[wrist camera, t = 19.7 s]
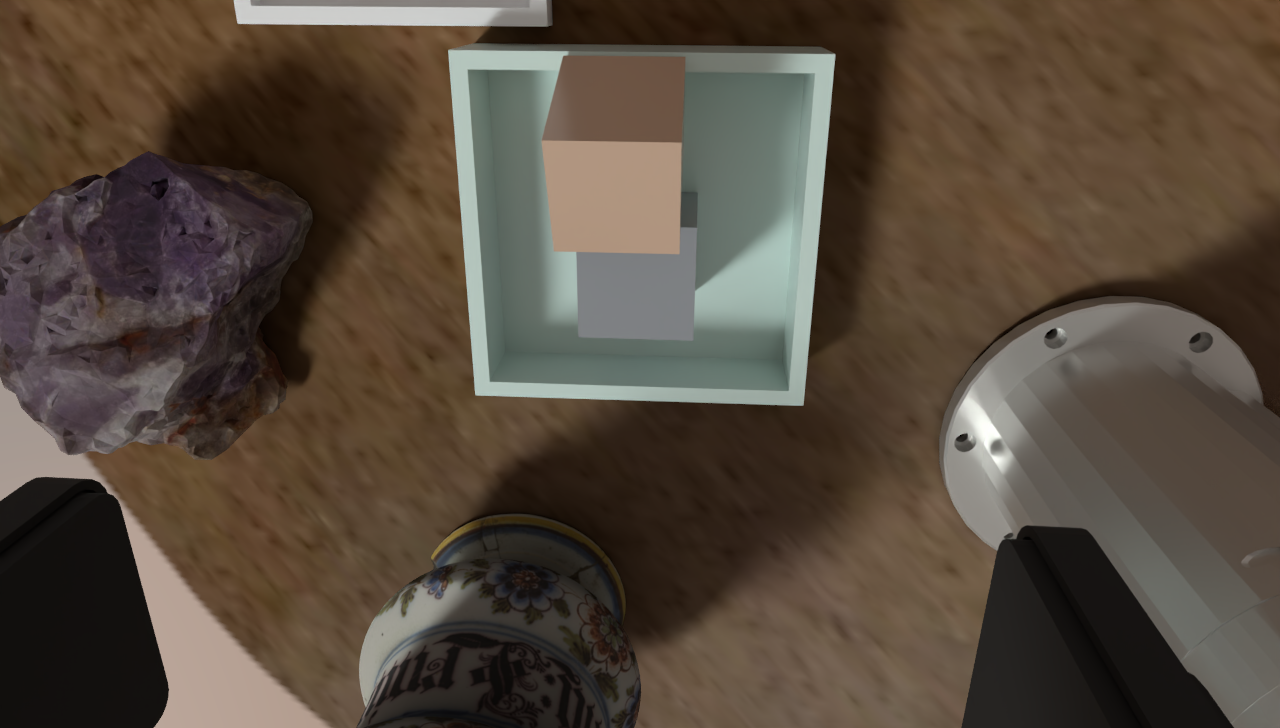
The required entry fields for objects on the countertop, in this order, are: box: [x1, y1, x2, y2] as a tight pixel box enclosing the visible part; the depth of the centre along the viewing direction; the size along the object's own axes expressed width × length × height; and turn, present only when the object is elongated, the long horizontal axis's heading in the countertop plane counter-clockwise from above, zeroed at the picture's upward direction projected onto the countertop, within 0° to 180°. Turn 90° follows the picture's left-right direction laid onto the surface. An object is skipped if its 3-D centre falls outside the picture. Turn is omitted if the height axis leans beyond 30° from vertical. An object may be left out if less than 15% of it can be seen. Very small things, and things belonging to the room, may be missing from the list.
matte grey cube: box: [576, 192, 698, 341], centre depth 32 cm, size 4×4×5 cm
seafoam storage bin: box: [448, 43, 835, 406], centre depth 33 cm, size 13×13×4 cm
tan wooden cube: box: [541, 56, 686, 254], centre depth 28 cm, size 4×4×5 cm
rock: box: [0, 151, 313, 460], centre depth 33 cm, size 12×9×10 cm
